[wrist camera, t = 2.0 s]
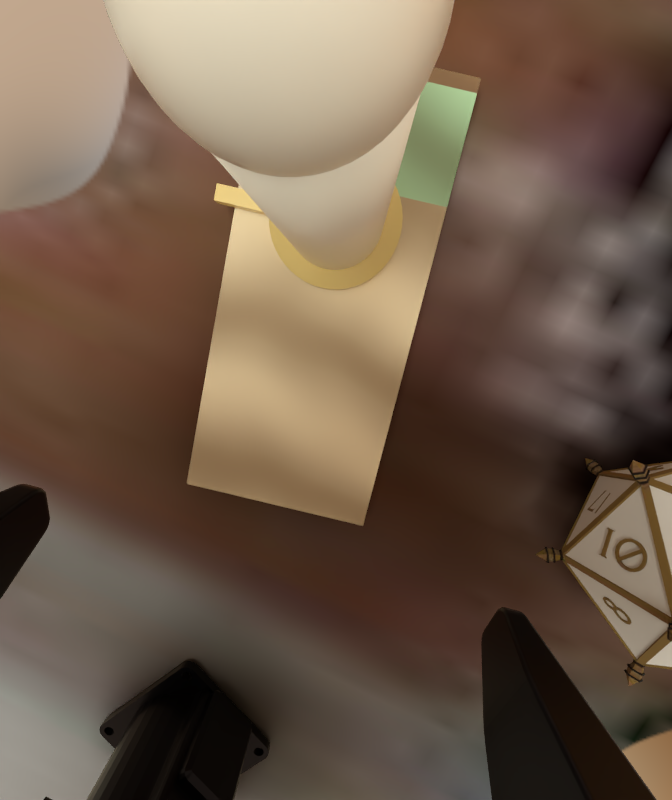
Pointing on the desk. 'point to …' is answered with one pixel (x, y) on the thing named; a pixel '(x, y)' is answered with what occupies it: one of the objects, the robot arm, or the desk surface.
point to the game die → (627, 558)
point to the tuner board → (323, 342)
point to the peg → (296, 111)
